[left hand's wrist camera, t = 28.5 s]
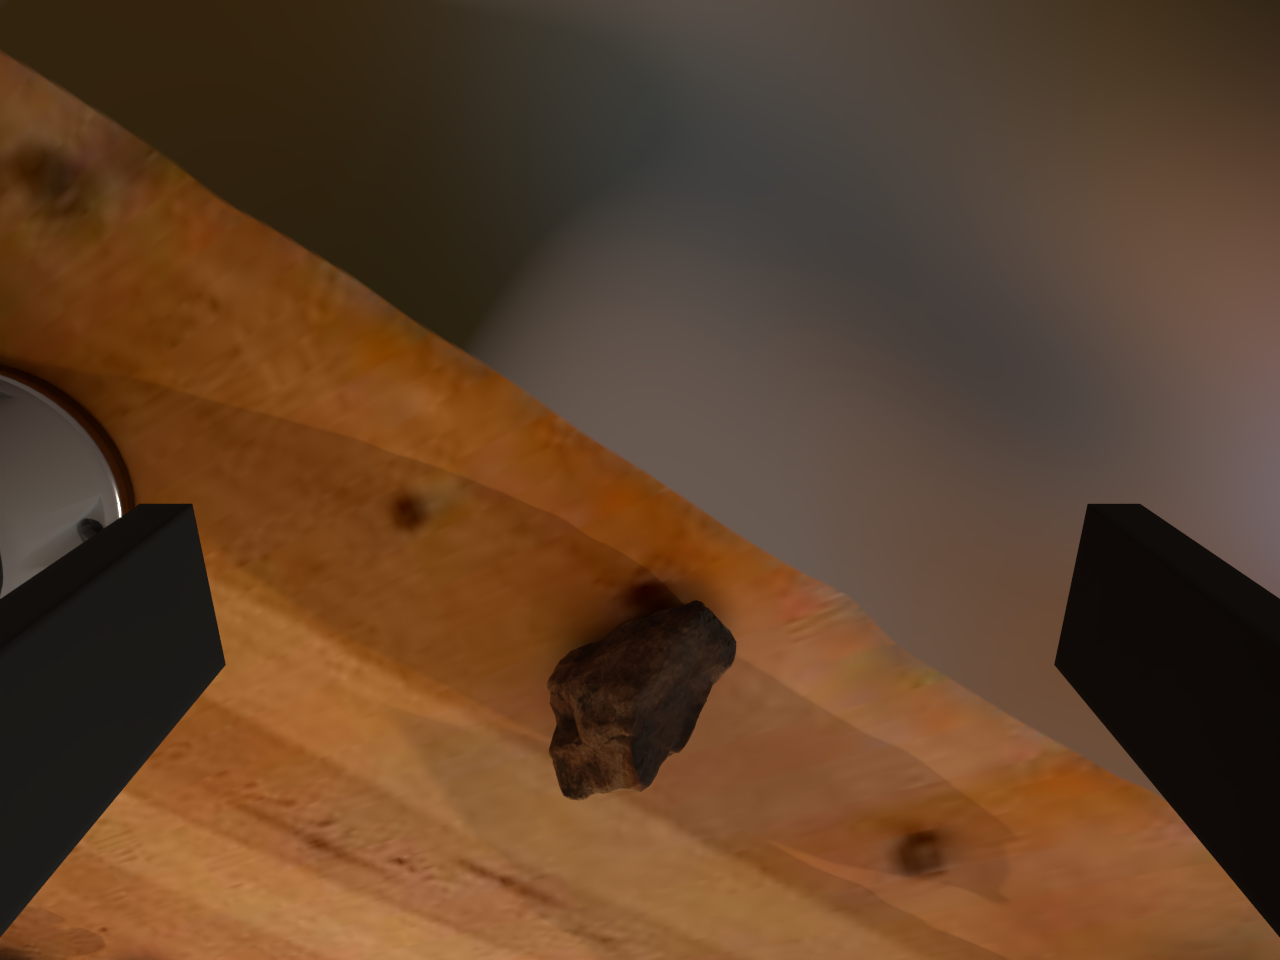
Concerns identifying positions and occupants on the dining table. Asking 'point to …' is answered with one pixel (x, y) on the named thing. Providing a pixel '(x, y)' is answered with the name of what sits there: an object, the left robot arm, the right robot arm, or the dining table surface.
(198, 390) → the dining table surface
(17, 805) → the left robot arm
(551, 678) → the decorative rock
